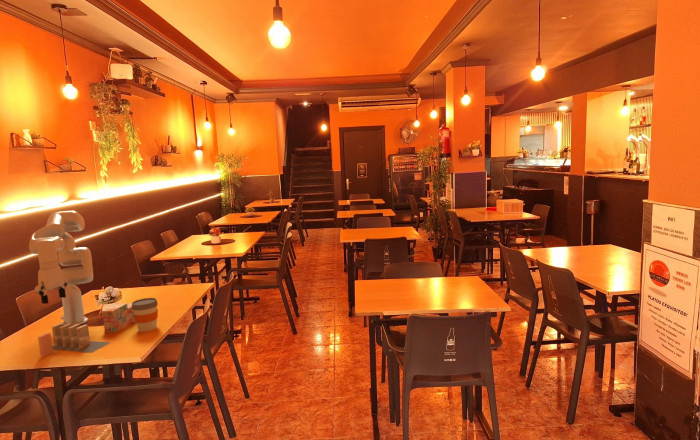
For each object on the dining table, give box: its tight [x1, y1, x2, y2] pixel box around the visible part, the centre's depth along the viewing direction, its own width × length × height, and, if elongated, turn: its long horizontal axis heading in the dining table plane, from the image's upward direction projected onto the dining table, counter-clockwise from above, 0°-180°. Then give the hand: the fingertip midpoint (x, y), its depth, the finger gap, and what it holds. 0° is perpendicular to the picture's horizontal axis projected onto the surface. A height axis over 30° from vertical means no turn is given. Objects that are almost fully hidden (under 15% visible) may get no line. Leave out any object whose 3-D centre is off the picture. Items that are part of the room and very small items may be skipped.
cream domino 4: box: [77, 324, 91, 348], centre depth 224 cm, size 2×5×10 cm, turn 165°
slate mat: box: [52, 340, 112, 354], centre depth 226 cm, size 28×12×1 cm, turn 74°
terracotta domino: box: [37, 332, 54, 358], centre depth 217 cm, size 2×5×10 cm, turn 164°
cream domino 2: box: [60, 324, 72, 347], centre depth 227 cm, size 2×5×10 cm, turn 165°
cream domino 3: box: [68, 324, 81, 348], centre depth 225 cm, size 2×5×10 cm, turn 165°
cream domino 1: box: [51, 322, 64, 347], centre depth 228 cm, size 2×5×10 cm, turn 165°
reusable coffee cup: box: [132, 297, 159, 333], centre depth 244 cm, size 12×13×15 cm
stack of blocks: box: [101, 302, 136, 333], centre depth 252 cm, size 21×6×12 cm, turn 171°
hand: (54, 300), depth 221 cm, fingers open, 9 cm apart
